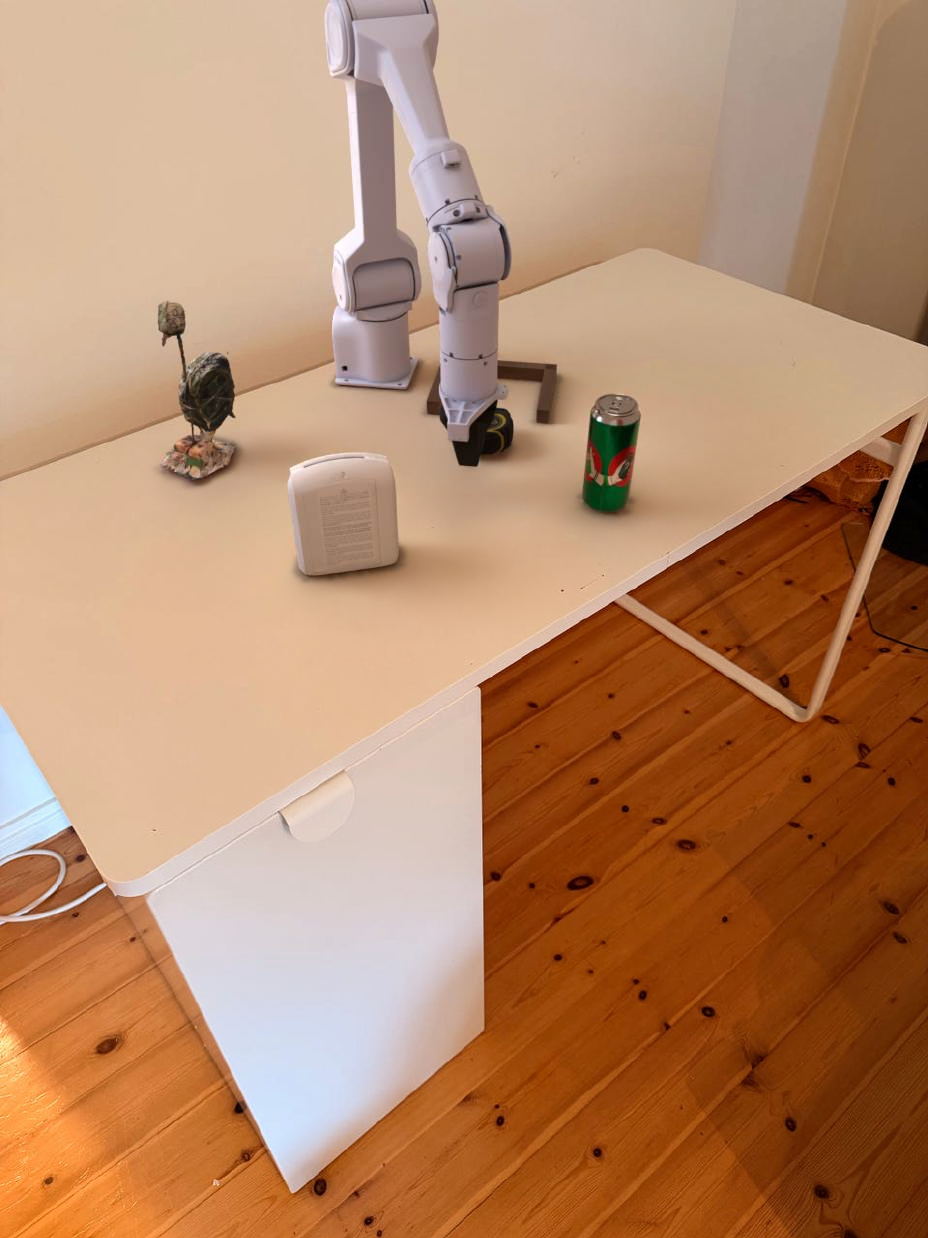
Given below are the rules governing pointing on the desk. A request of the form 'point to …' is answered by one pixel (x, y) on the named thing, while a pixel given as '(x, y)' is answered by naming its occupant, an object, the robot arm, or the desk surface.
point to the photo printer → (343, 513)
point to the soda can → (610, 452)
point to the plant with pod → (199, 402)
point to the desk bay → (512, 371)
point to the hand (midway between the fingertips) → (468, 462)
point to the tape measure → (499, 433)
